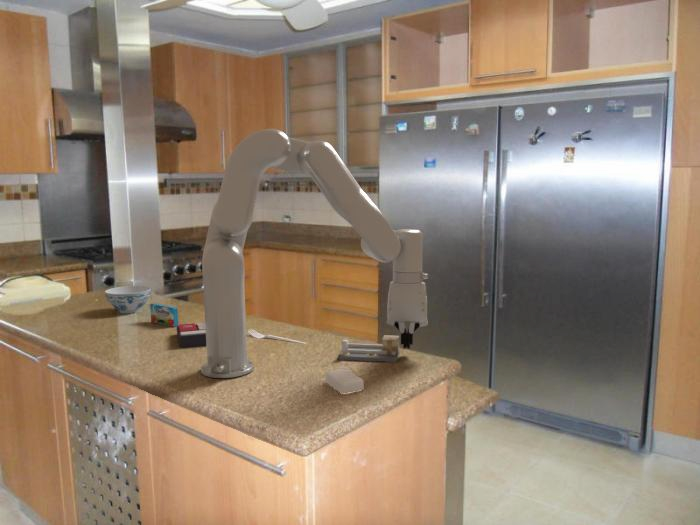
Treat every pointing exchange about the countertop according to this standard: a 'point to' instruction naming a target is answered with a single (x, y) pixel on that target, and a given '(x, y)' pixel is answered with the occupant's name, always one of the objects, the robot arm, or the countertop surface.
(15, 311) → the countertop surface
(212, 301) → the robot arm
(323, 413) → the countertop surface
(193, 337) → the calculator
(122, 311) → the chinaware
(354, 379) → the soap
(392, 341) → the tan slider block
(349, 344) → the switch panel
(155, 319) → the blue thin box
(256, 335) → the fork
